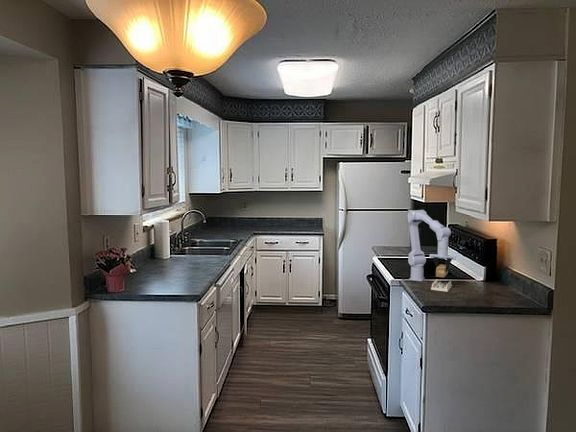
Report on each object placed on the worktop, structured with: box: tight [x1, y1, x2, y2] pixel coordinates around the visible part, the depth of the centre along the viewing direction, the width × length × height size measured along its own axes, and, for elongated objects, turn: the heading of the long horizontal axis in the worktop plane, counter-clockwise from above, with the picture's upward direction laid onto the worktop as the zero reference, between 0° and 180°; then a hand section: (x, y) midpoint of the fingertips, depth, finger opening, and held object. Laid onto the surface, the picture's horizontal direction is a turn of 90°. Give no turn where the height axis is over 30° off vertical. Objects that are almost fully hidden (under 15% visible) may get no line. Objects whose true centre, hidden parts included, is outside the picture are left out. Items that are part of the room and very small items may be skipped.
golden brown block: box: [435, 263, 449, 278], centre depth 261 cm, size 12×4×5 cm, turn 150°
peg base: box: [430, 278, 453, 293], centre depth 263 cm, size 14×9×3 cm, turn 150°
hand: (442, 270), depth 262 cm, fingers closed on golden brown block, 4 cm apart
